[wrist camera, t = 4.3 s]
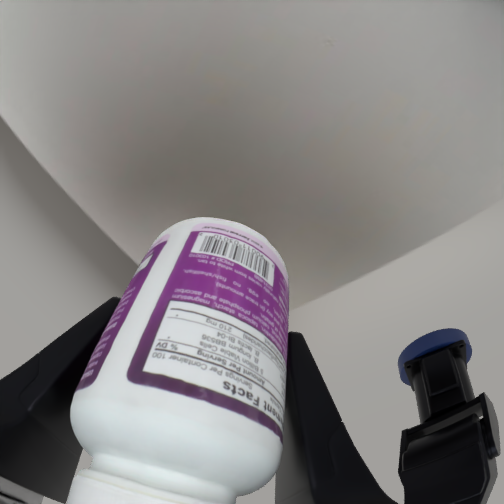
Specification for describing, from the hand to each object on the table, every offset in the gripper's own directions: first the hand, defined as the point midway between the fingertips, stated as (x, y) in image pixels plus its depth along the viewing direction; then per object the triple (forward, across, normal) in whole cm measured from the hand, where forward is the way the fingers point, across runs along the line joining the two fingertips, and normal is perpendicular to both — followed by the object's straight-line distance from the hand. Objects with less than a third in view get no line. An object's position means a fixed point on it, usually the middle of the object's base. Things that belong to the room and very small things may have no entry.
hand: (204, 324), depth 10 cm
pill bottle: (+3, 0, 0) cm, 3 cm away
